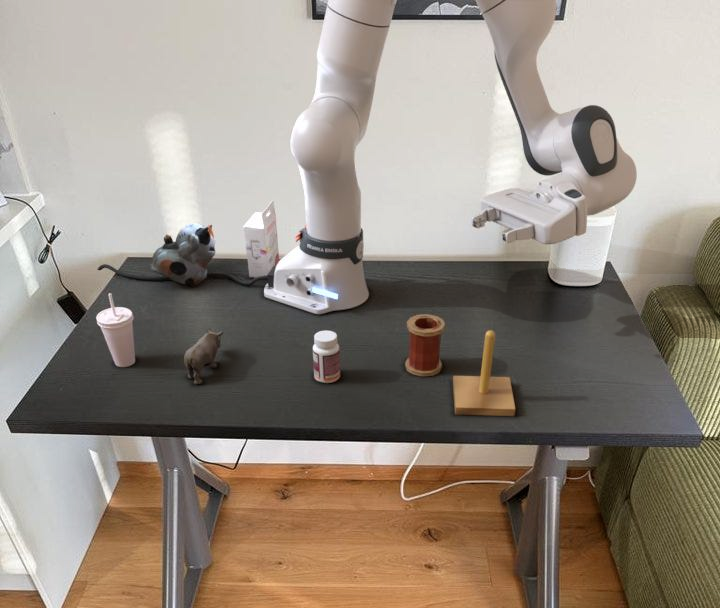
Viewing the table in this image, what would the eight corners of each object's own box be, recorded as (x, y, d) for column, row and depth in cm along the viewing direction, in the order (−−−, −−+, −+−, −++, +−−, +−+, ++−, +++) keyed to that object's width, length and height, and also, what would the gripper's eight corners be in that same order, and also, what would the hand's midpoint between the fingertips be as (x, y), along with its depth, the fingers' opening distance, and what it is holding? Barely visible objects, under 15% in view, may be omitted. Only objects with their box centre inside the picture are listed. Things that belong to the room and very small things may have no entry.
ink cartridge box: (259, 261, 176) (253, 197, 167) (280, 263, 175) (275, 199, 166) (247, 277, 170) (241, 212, 160) (269, 279, 169) (263, 214, 159)
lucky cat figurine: (160, 262, 176) (181, 204, 170) (209, 285, 177) (230, 228, 172) (139, 271, 162) (160, 209, 157) (191, 296, 163) (214, 235, 158)
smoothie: (112, 374, 139) (94, 304, 130) (103, 358, 143) (86, 289, 134) (146, 365, 141) (131, 296, 132) (137, 349, 146) (122, 281, 137)
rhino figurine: (233, 348, 146) (229, 320, 142) (202, 386, 136) (198, 357, 132) (213, 345, 147) (209, 317, 143) (181, 383, 137) (176, 353, 133)
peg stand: (454, 414, 129) (461, 345, 120) (452, 382, 137) (458, 315, 128) (514, 416, 129) (525, 347, 120) (508, 384, 136) (518, 316, 128)
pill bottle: (343, 372, 139) (343, 331, 134) (334, 385, 136) (333, 344, 131) (319, 367, 141) (318, 327, 135) (310, 381, 137) (307, 339, 132)
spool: (400, 371, 139) (402, 328, 134) (412, 354, 144) (414, 311, 138) (434, 379, 137) (437, 335, 132) (446, 361, 142) (449, 318, 136)
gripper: (518, 173, 140) (454, 198, 137) (592, 199, 125) (522, 227, 122) (520, 207, 144) (458, 232, 141) (592, 236, 129) (524, 264, 126)
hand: (488, 230), depth 131 cm, fingers open, 8 cm apart
